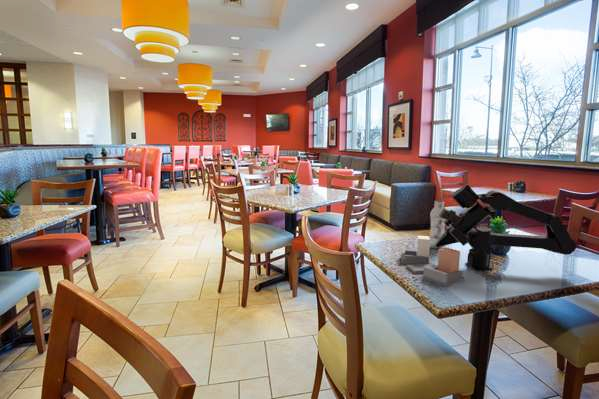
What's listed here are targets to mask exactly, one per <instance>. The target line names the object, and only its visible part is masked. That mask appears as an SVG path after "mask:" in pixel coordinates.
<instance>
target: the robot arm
mask: <svg viewBox="0 0 599 399" xmlns="http://www.w3.org/2000/svg"><path fill="white" fill-rule="evenodd" d="M450 197H451V199H452V200H454V202H456V204H458V206H460V207H461V209H467V210H466V211H465V212H464V213H463V212H460V213H459V214H458V213H457V212H456V211H454V210H452V209H450V210H449V209H447V208H445V207H443V210H442V212H441V214H440V217H441V218H443V219H446V220H445V221H444V223H445V226H444V234H443V235H442V236H441V238H440V239H439V240H438V242H437V243H436V246H437V247H441V246H444V247H445V246H448V245H451V244H457V243H458V244H461V245H462V246H463V247H465V245H467V244H468V245H469V246H470V247H471V248H470V249H469V250H468V253H467V259H466V260H467V262H465V263H464V265H465V266H467V267H470V268H471V269H473V270H475V271H483V270H485V271H486V270H488V271H489V270H493V266H491V255H492V254H491V253H492V252H493V250H494V249H493V247H494V246H495V247H496V246H498V247H499V246H501V247H514V248H526V249H527V248H528V249H542V250H546V251H548V252H553V253H555V254H560V255H565V256H569V255H571V254H573V253H574V252H575V251H576V249H577V242H576V241H575V240H574V239H573V238H571V235H570V233H569V232H568V230H567V228H566V227H565V225H564V223H563V221H562V218H561V217H560V216H559V215H556V214H554V213H551V212H550V213H549V212H545V211H544V210H540V209H538V208H536V207H532V206H529V205H527V204H524V203H522V202H519V201H517V200H515V199H513V198H512V197H511V196H508V195H506V194H505V193H504V192H503V193H502V192H500V191H498V190H493V189H492V190H490V191H487V192H486V193H479V194H477V193H476V192H475V191H474V190H473V189H472V188H471V186H470V185H469V184H464V186H462V187H460V188H459V189H458V188H457V190H455V191H454V192H452V194H451V196H450ZM480 202H481V203H483V205H482V204H481V203H480ZM488 206H489V207H490V208H493V209H494V210H491V209H490V208H489V207H488ZM496 210H499V211H504V212H511V213H515V214H518V215H520V216H523V217H526V218H529V219H531V220H534V221H536V222H538V223H541V224H544V227H545V231H546V233H545V234H541V235H530V234H529V235H528V234H515V233H496V232H492V230H491V229H490V228H488V227H487V226H483V227H482V226H481V227H478V225H479V224H480V223H481V222H482V221H484V220H486V218H488V217H490V218H491V219H492V220H496V213H497V212H496Z"/></svg>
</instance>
